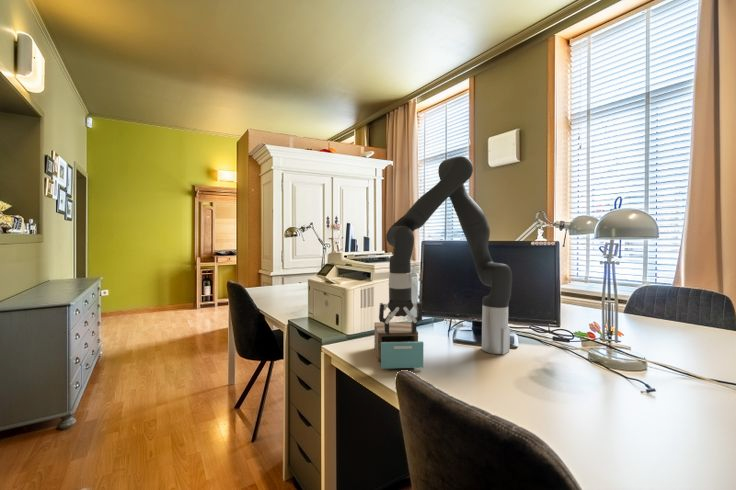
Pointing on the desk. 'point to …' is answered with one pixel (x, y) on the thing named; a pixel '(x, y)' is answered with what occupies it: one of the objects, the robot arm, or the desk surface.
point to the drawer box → (393, 335)
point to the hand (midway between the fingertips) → (400, 333)
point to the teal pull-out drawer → (401, 355)
